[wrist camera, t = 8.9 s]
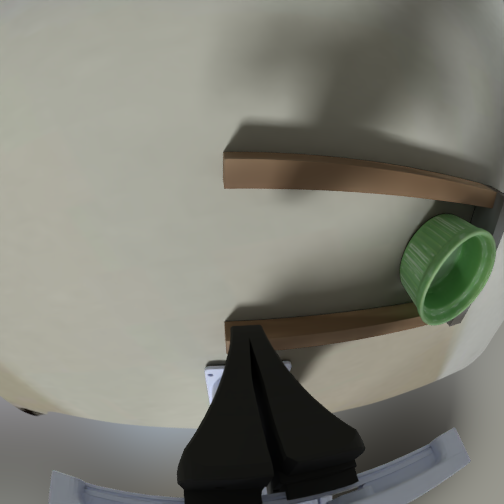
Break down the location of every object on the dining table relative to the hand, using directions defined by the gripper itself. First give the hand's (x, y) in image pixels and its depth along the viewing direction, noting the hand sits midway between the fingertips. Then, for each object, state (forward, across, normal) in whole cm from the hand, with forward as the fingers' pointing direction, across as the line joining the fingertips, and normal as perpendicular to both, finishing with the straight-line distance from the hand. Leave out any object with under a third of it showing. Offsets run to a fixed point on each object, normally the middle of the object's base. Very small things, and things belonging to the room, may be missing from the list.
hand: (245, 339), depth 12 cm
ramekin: (+7, -17, 0) cm, 18 cm away
